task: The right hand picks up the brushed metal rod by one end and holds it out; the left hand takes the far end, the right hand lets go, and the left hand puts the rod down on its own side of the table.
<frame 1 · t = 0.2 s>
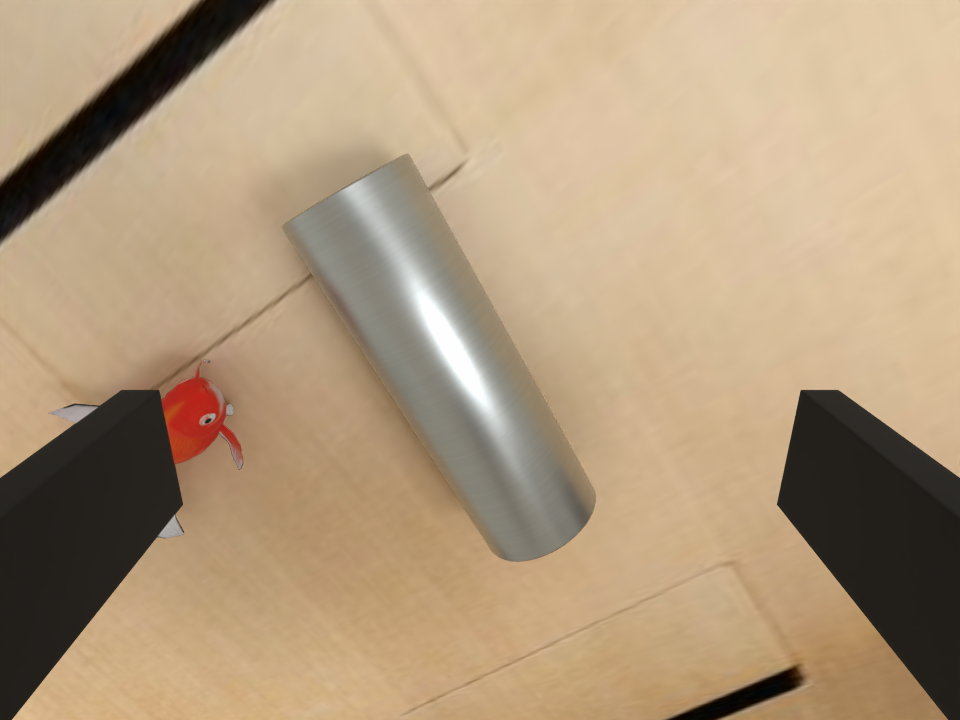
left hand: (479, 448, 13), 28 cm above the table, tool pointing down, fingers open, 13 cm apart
rod: (455, 347, 41), on the table
fish: (184, 429, 43), on the table
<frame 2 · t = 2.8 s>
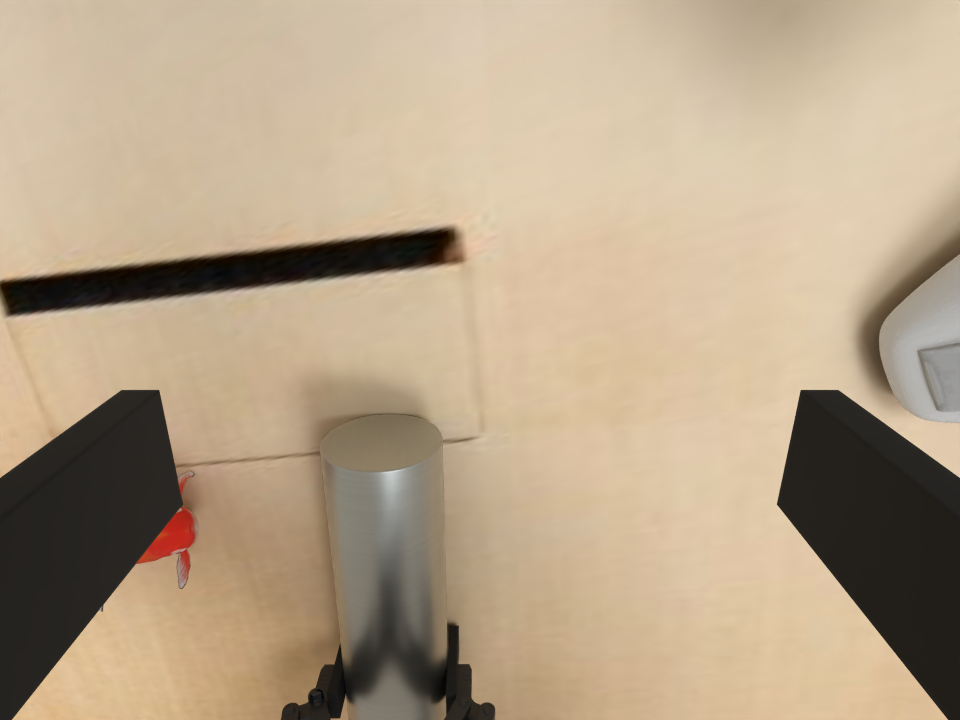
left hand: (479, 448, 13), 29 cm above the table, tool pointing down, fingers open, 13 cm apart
rod: (398, 549, 49), on the table, touching right hand
fish: (138, 509, 48), on the table
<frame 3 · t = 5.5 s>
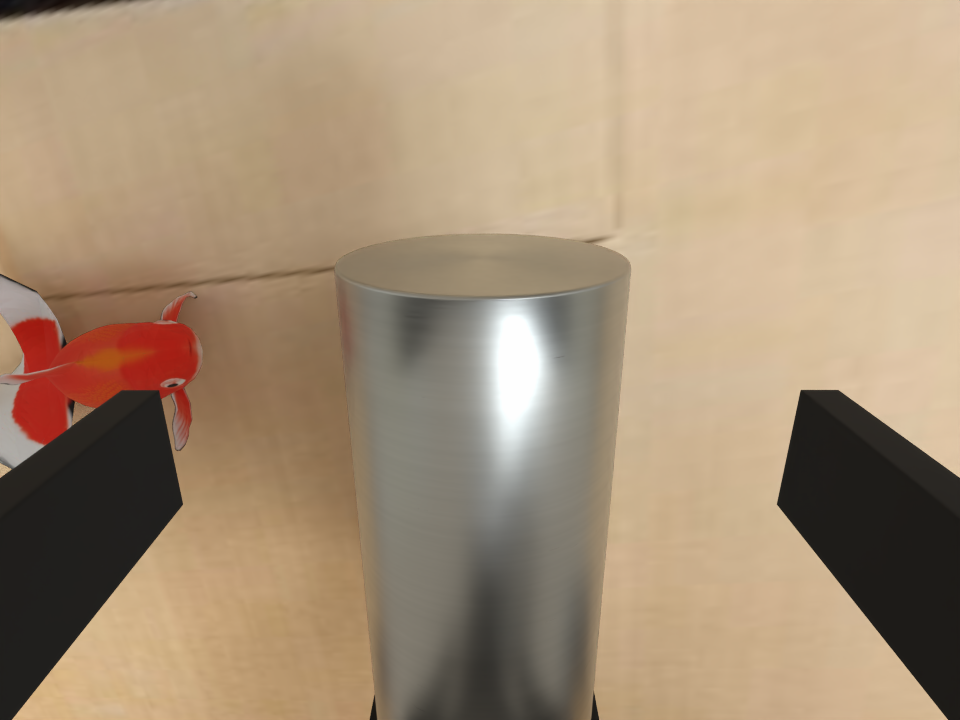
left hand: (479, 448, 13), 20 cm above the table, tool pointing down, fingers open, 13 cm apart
rod: (484, 527, 25), point 10 cm above the table, touching right hand
fish: (119, 354, 33), on the table
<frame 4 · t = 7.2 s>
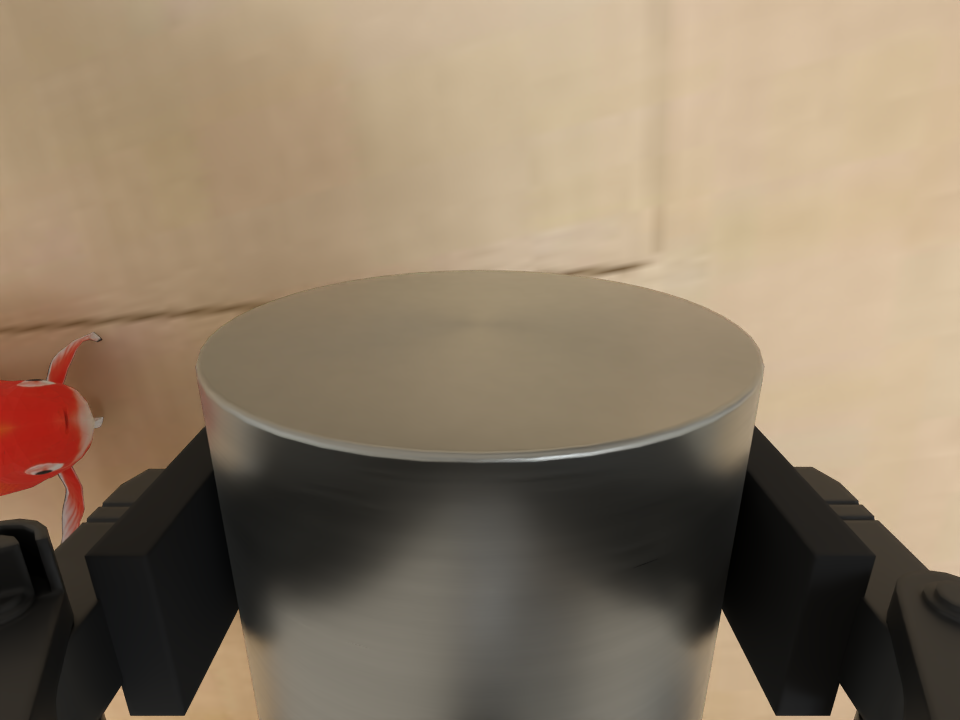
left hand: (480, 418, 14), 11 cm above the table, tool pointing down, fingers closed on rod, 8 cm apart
rod: (480, 684, 18), point 10 cm above the table, touching left hand, right hand
fish: (4, 411, 26), on the table
when the right hand's fingers open (11 cm above the table, at t = 8.1 s): rod stays where it is, held by the left hand.
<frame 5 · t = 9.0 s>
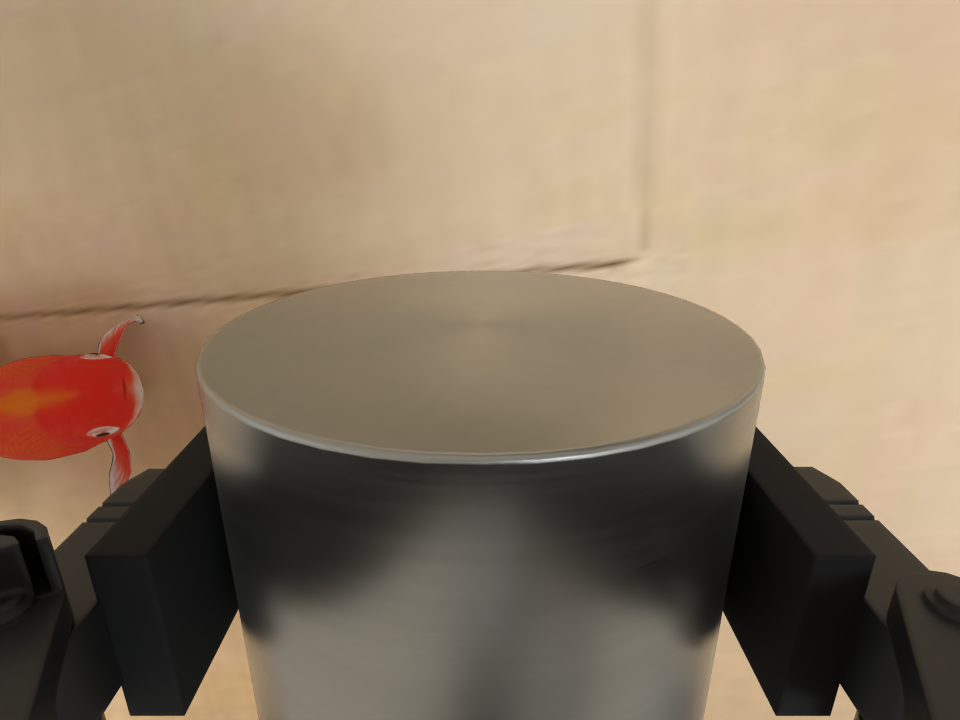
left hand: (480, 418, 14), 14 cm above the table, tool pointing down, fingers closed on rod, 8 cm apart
rod: (480, 685, 18), point 13 cm above the table, touching left hand
fish: (52, 387, 28), on the table
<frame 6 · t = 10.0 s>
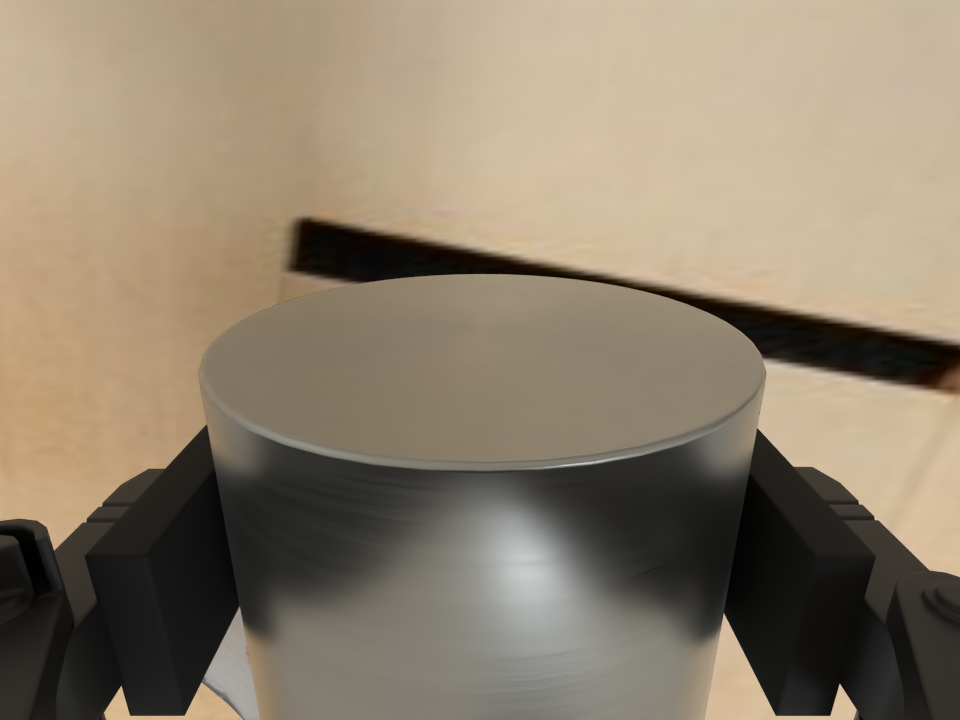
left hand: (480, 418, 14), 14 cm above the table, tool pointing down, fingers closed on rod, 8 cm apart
rod: (481, 687, 18), point 13 cm above the table, touching left hand
fish: (340, 578, 33), on the table
when the left hand's fingers open (2 cm above the table, at t = 12.9 s): rod stays where it is, point 3 cm above the table.
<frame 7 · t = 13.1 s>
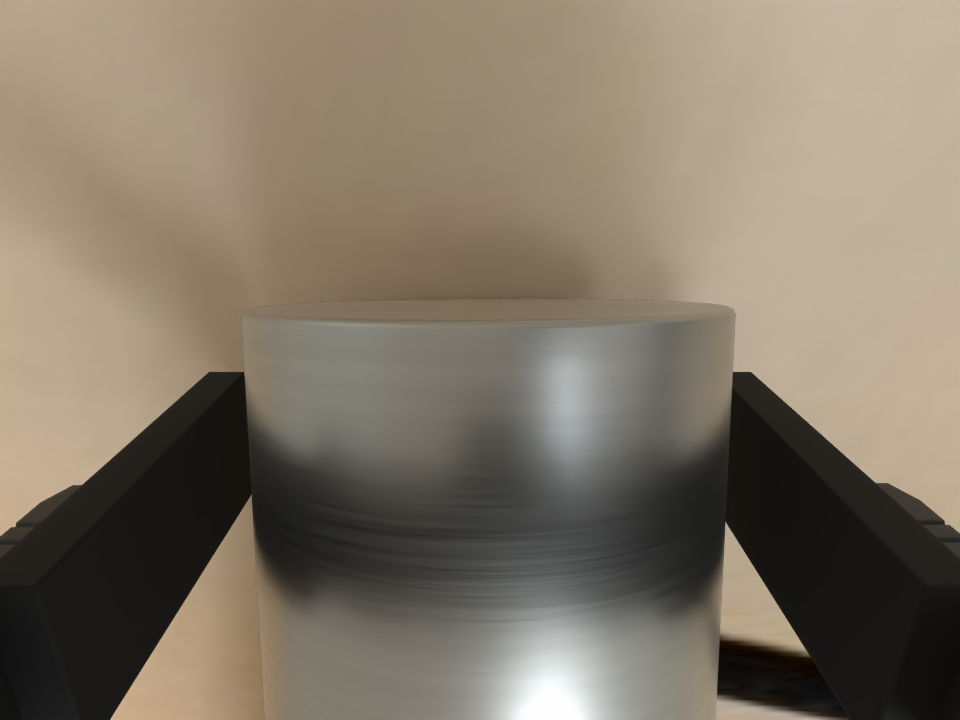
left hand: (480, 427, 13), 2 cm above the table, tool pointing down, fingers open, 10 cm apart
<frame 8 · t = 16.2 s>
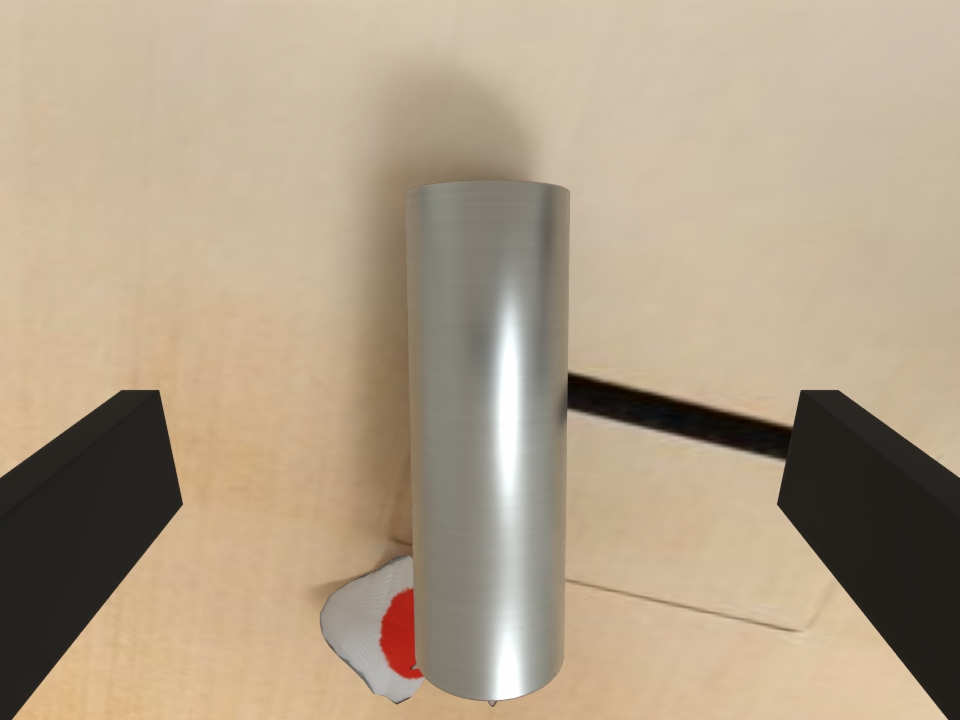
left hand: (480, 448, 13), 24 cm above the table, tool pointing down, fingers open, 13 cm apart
rod: (475, 416, 36), point 3 cm above the table, tilted 17°, touching fish
fish: (436, 591, 44), on the table, touching rod
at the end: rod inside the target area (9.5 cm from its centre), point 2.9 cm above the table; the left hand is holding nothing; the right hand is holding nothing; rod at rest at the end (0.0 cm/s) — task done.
